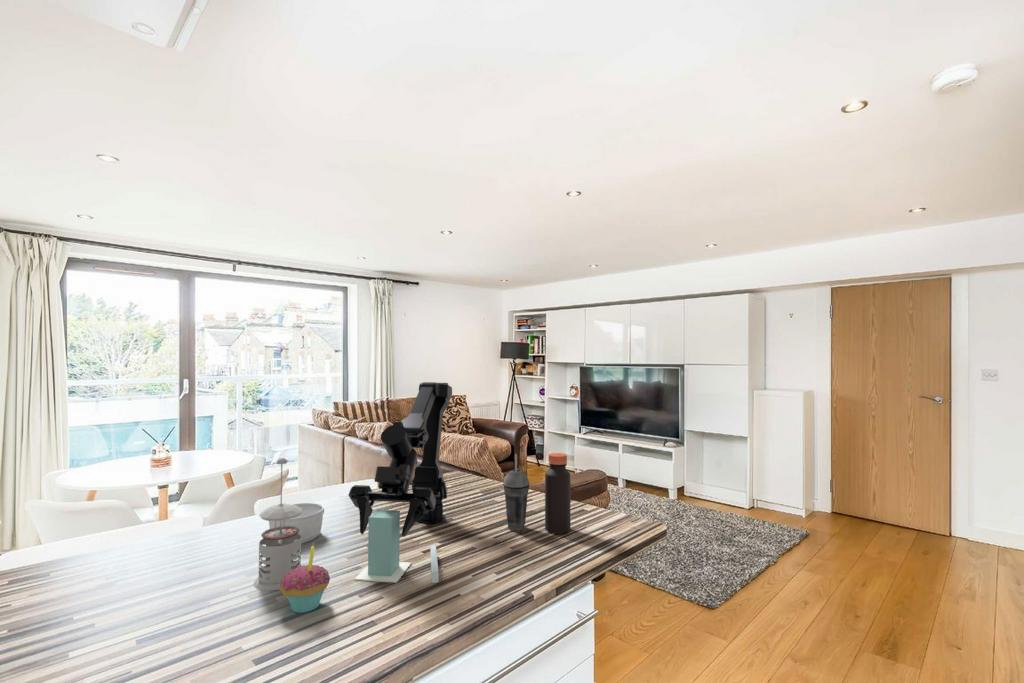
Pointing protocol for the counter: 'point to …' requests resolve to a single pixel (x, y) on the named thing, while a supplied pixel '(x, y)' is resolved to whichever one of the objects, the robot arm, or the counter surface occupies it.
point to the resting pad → (394, 578)
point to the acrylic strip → (434, 564)
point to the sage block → (383, 542)
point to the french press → (277, 556)
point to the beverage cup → (516, 497)
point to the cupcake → (305, 585)
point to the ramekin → (304, 521)
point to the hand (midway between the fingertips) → (382, 534)
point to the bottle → (557, 495)
